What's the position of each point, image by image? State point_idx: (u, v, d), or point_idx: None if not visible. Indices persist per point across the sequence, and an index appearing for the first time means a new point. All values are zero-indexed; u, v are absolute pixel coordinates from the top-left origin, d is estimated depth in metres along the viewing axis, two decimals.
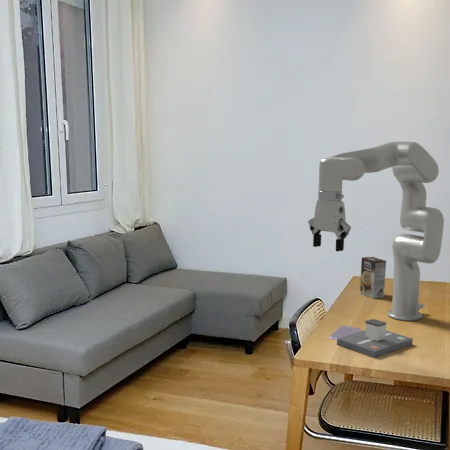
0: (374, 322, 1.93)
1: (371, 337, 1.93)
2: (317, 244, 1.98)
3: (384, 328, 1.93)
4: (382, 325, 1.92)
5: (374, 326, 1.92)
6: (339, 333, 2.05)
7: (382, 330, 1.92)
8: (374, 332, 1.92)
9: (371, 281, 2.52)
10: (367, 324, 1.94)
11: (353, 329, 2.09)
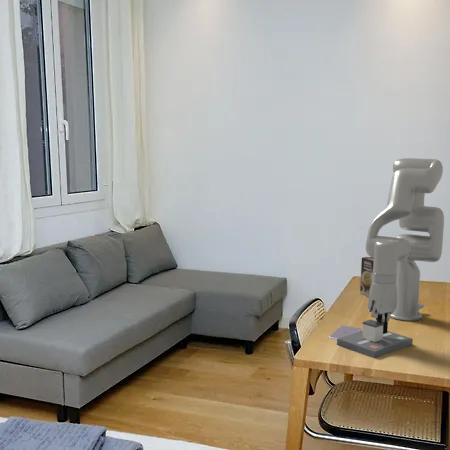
0: (371, 323, 1.92)
1: (368, 338, 1.92)
2: None
3: (381, 329, 1.92)
4: (379, 326, 1.91)
5: (371, 327, 1.91)
6: (339, 332, 2.05)
7: (379, 331, 1.92)
8: (372, 333, 1.91)
9: (371, 281, 2.52)
10: (364, 325, 1.93)
11: (353, 328, 2.09)
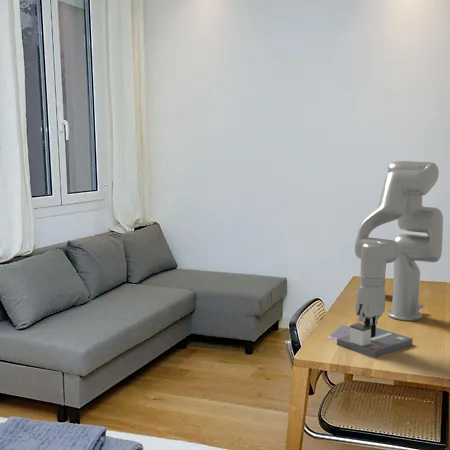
0: (359, 326, 1.89)
1: (356, 342, 1.89)
2: None
3: (369, 332, 1.88)
4: (367, 329, 1.87)
5: (359, 330, 1.87)
6: (339, 332, 2.05)
7: (367, 335, 1.88)
8: (359, 337, 1.87)
9: None
10: (352, 328, 1.89)
11: None
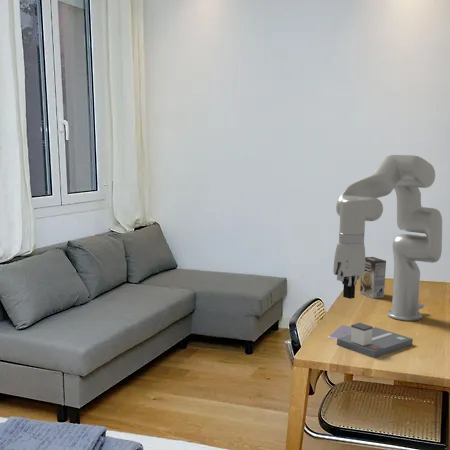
0: (360, 326, 1.89)
1: (357, 341, 1.89)
2: None
3: (370, 332, 1.89)
4: (368, 329, 1.88)
5: (360, 330, 1.88)
6: (339, 332, 2.05)
7: (368, 334, 1.88)
8: (360, 336, 1.88)
9: (371, 281, 2.52)
10: (353, 328, 1.90)
11: None
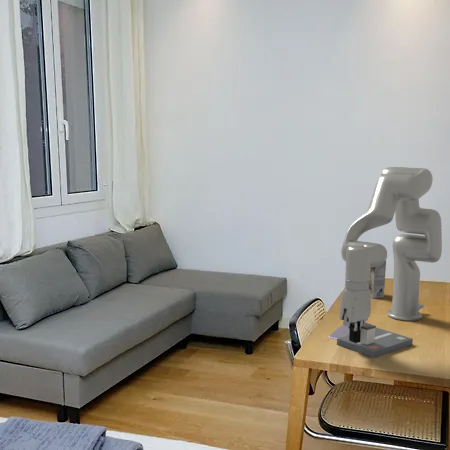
0: (363, 325, 1.90)
1: (360, 340, 1.90)
2: None
3: (373, 331, 1.90)
4: (371, 328, 1.89)
5: (363, 329, 1.88)
6: (339, 332, 2.05)
7: (371, 333, 1.89)
8: (364, 335, 1.89)
9: (371, 281, 2.52)
10: None
11: None
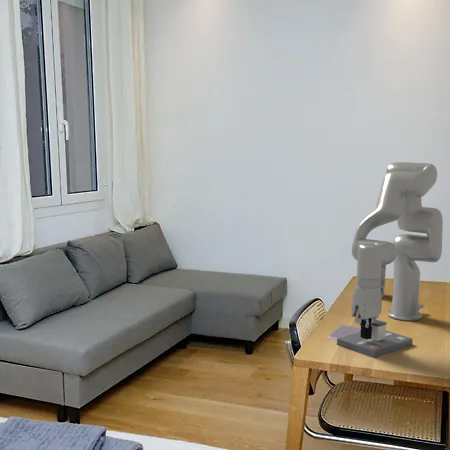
0: (374, 322, 1.93)
1: None
2: None
3: (384, 328, 1.93)
4: (382, 325, 1.92)
5: (374, 326, 1.92)
6: (339, 332, 2.05)
7: (382, 330, 1.93)
8: (375, 332, 1.92)
9: None
10: None
11: (353, 328, 2.09)
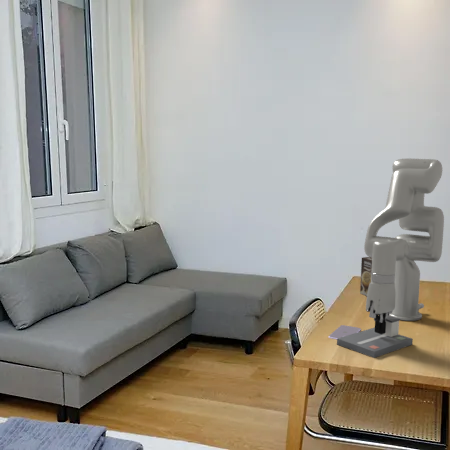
0: None
1: (385, 333, 1.98)
2: None
3: (397, 324, 1.97)
4: (395, 321, 1.96)
5: (388, 322, 1.96)
6: (339, 332, 2.05)
7: (395, 326, 1.97)
8: (388, 328, 1.96)
9: None
10: None
11: (353, 328, 2.10)
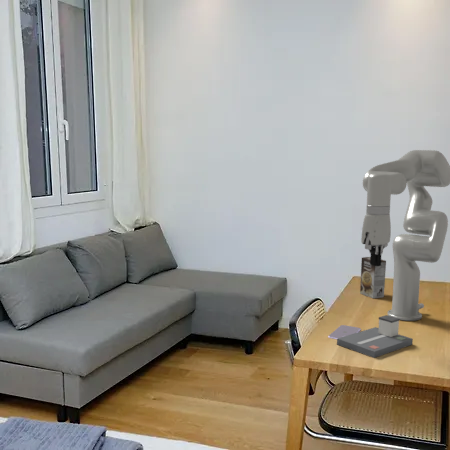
0: (387, 318, 1.98)
1: (384, 333, 1.98)
2: None
3: (397, 324, 1.97)
4: (395, 321, 1.96)
5: (387, 322, 1.96)
6: (339, 332, 2.05)
7: (395, 326, 1.97)
8: (388, 328, 1.96)
9: (371, 281, 2.52)
10: (380, 320, 1.98)
11: (353, 328, 2.10)
